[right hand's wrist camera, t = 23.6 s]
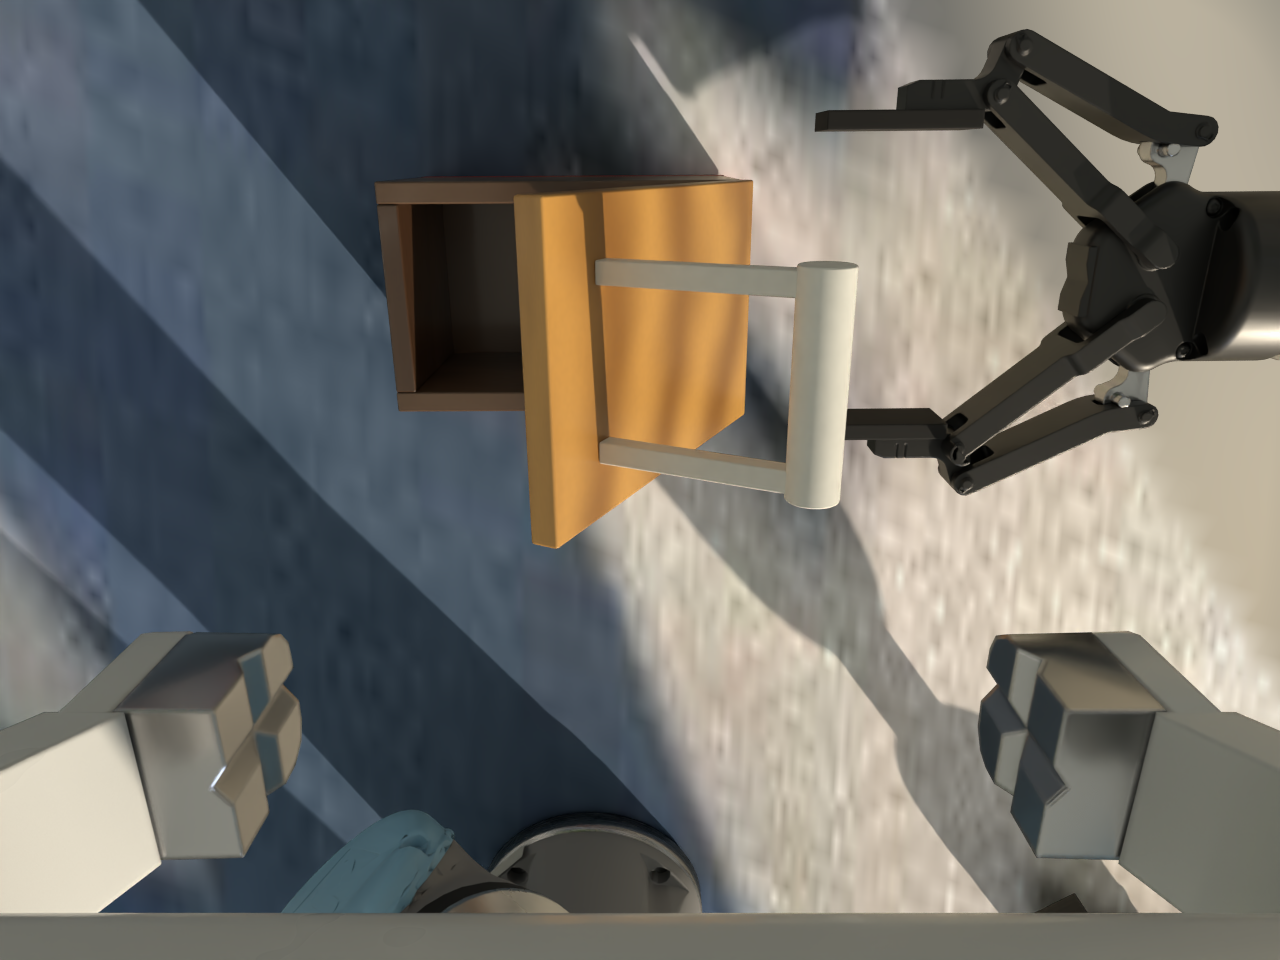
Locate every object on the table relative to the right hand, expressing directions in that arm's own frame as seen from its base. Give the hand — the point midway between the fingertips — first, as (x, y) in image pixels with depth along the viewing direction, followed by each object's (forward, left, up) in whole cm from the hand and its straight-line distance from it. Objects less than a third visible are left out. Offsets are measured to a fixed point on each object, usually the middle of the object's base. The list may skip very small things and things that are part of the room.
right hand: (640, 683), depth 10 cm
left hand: (+4, +7, -32) cm, 33 cm away
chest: (-2, -3, -38) cm, 38 cm away
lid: (0, 0, -22) cm, 22 cm away
